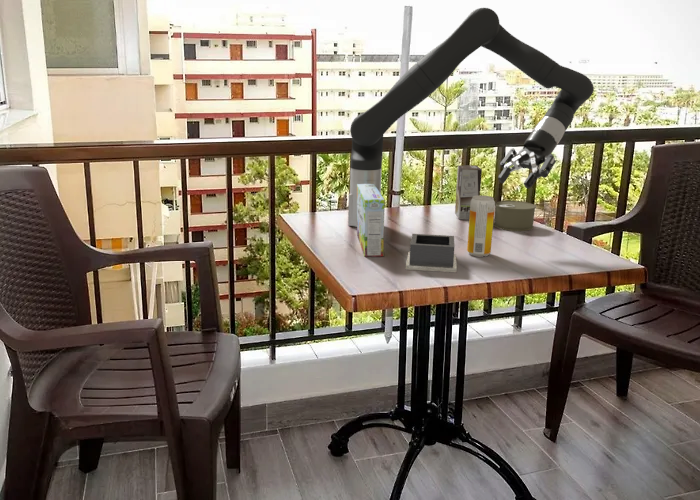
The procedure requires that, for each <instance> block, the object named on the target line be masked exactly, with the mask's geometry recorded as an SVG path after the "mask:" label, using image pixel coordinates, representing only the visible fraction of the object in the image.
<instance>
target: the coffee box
mask: <svg viewBox="0 0 700 500" xmlns="http://www.w3.org/2000/svg"><path fill="white" fill-rule="evenodd" d="M456 173H457V174H456V176H457V177H456V191H455V207H454V209H455V210H454V214H455V215H456V217H457V218H458V220H469V217H470V203H471V200H472V198H473V196H481V187H482V173H483V169H482V168H481V167H479V166H478V165H474V164H473V165H470V164H469V165H467V164H466V165H459V164H458V165H457V172H456Z"/></svg>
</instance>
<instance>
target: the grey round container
mask: <svg viewBox="0 0 700 500" xmlns="http://www.w3.org/2000/svg"><path fill="white" fill-rule="evenodd" d="M536 207H537V206H536V205H535V204H533V203H530V202H526V201H521V200H520V201H519V200H500V201H495V207H494V219H493V227H494V228H496V229H499V230H503V231H509V232H527V231H531V230H533V228H534V218H535V211H536Z"/></svg>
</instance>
